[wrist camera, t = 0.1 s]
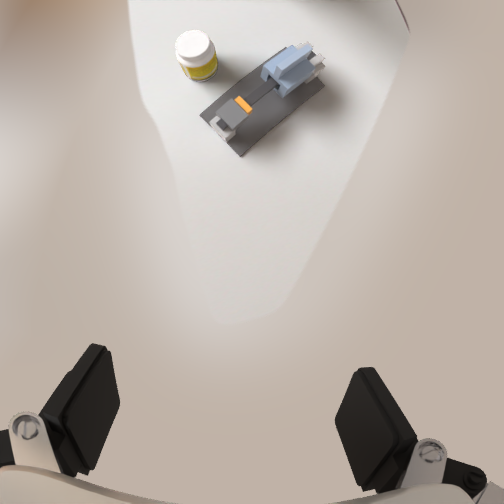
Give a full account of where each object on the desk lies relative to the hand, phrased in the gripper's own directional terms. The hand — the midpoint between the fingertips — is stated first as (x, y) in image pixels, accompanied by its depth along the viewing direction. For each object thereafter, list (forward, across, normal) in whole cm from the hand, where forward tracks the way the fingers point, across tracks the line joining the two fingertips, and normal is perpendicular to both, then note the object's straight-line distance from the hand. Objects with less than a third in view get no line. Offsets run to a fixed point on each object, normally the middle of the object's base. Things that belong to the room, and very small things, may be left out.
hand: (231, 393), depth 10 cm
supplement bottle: (+31, +8, -23) cm, 39 cm away
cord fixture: (+31, -2, -19) cm, 36 cm away
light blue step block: (+28, -4, -21) cm, 35 cm away
